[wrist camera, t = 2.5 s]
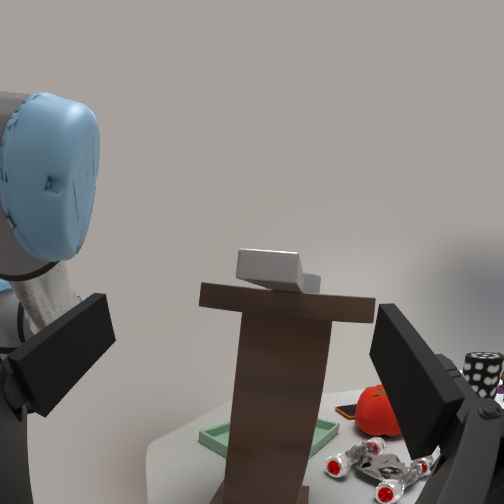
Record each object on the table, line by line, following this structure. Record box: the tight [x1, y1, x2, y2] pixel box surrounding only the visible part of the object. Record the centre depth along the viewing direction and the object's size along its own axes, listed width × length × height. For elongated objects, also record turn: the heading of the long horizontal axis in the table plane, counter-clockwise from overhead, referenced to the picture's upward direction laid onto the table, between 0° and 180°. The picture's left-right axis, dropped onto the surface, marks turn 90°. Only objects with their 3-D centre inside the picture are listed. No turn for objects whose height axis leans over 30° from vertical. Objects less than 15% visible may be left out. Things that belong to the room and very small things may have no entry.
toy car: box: [325, 437, 434, 504], centre depth 30 cm, size 15×12×5 cm
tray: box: [199, 418, 340, 458], centre depth 45 cm, size 23×17×2 cm
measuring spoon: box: [236, 249, 321, 294], centre depth 22 cm, size 22×6×2 cm, turn 169°
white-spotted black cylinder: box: [440, 352, 504, 454], centre depth 32 cm, size 8×8×20 cm
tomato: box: [355, 385, 401, 436], centre depth 49 cm, size 14×13×10 cm
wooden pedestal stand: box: [199, 282, 376, 504], centre depth 26 cm, size 14×14×29 cm
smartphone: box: [335, 404, 357, 418], centre depth 61 cm, size 8×17×1 cm, turn 104°
